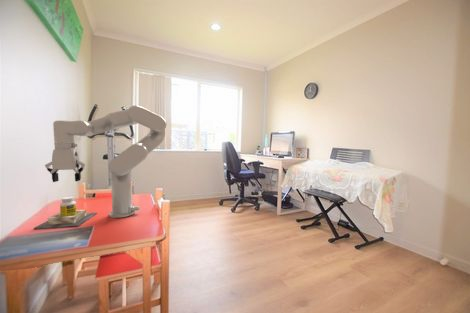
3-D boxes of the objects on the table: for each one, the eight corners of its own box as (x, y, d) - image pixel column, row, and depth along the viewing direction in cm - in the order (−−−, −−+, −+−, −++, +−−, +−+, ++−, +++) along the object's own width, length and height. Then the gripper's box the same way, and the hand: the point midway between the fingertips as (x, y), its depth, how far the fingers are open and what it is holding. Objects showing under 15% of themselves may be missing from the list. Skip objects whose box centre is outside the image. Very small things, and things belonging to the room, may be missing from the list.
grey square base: (96, 213, 114) (96, 207, 114) (78, 226, 97) (77, 219, 96) (59, 215, 111) (59, 209, 111) (33, 229, 93) (33, 221, 93)
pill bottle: (67, 222, 100) (66, 199, 99) (57, 221, 101) (56, 199, 101) (79, 217, 106) (78, 196, 105) (69, 216, 107) (68, 195, 107)
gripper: (88, 146, 107) (90, 179, 108) (49, 146, 104) (52, 180, 105) (80, 146, 99) (82, 182, 100) (38, 146, 96) (41, 183, 97)
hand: (66, 181), depth 103 cm, fingers open, 9 cm apart
